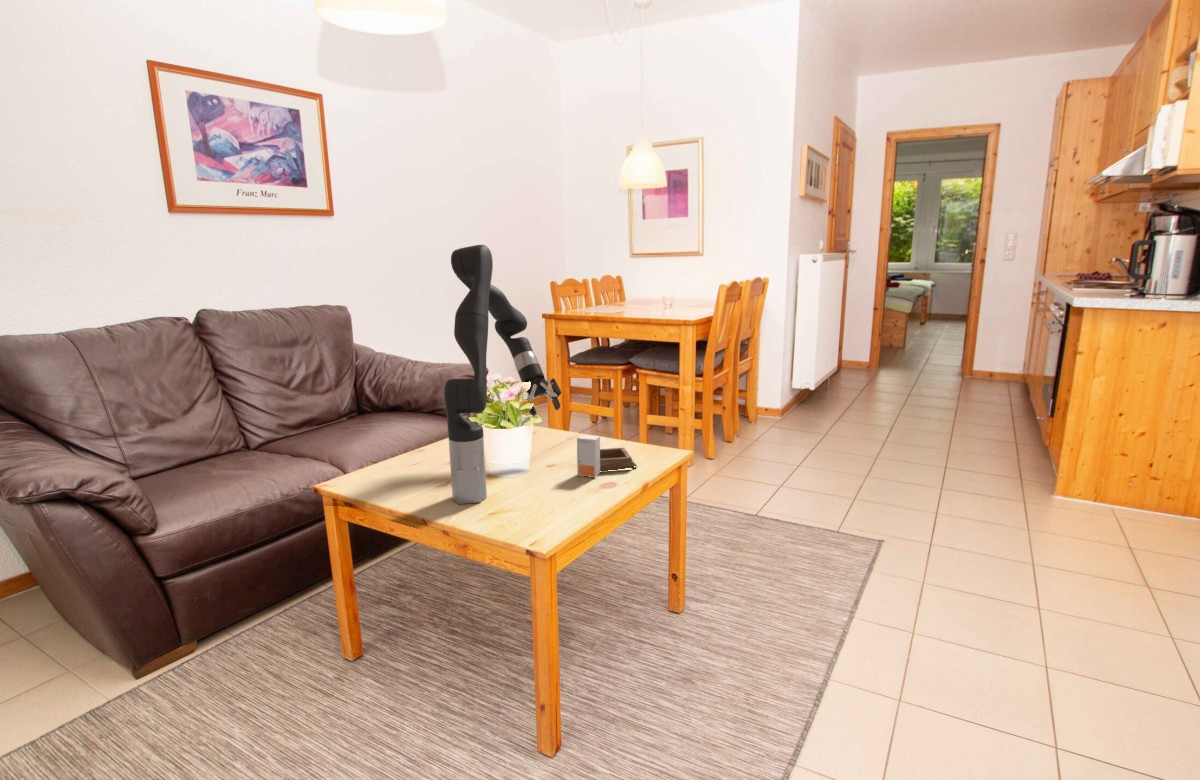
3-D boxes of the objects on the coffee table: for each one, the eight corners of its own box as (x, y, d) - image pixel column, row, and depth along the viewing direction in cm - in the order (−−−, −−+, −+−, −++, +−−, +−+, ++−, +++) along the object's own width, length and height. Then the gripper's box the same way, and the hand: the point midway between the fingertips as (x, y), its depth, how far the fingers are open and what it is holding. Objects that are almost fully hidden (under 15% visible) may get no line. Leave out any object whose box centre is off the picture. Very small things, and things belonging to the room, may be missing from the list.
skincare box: (577, 476, 189) (576, 438, 186) (582, 472, 193) (581, 434, 190) (596, 478, 187) (595, 439, 184) (600, 474, 191) (600, 435, 188)
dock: (638, 469, 194) (638, 457, 193) (596, 472, 192) (596, 460, 191) (630, 458, 204) (630, 447, 204) (590, 461, 202) (590, 449, 201)
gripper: (512, 366, 199) (530, 412, 194) (551, 358, 206) (569, 402, 202) (505, 377, 205) (523, 421, 200) (543, 369, 212) (561, 412, 208)
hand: (546, 412), depth 201 cm, fingers open, 8 cm apart
